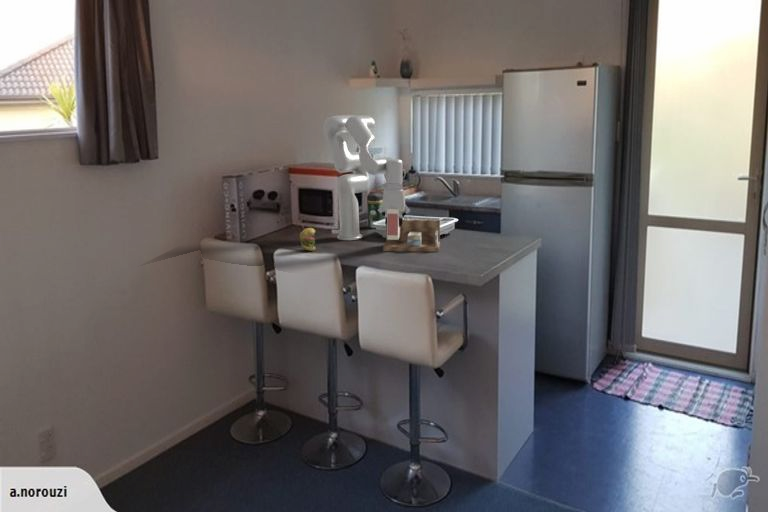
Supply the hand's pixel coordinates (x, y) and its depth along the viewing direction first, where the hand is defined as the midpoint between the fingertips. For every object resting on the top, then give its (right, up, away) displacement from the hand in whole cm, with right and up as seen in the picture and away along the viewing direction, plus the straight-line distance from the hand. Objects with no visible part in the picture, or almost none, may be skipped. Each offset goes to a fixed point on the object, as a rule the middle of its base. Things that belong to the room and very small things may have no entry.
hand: (393, 225), depth 297 cm
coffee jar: (-9, +1, +51) cm, 52 cm away
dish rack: (+11, -4, +29) cm, 31 cm away
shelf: (+8, -10, +1) cm, 13 cm away
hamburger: (-39, -12, +1) cm, 41 cm away
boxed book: (0, -5, +1) cm, 6 cm away
